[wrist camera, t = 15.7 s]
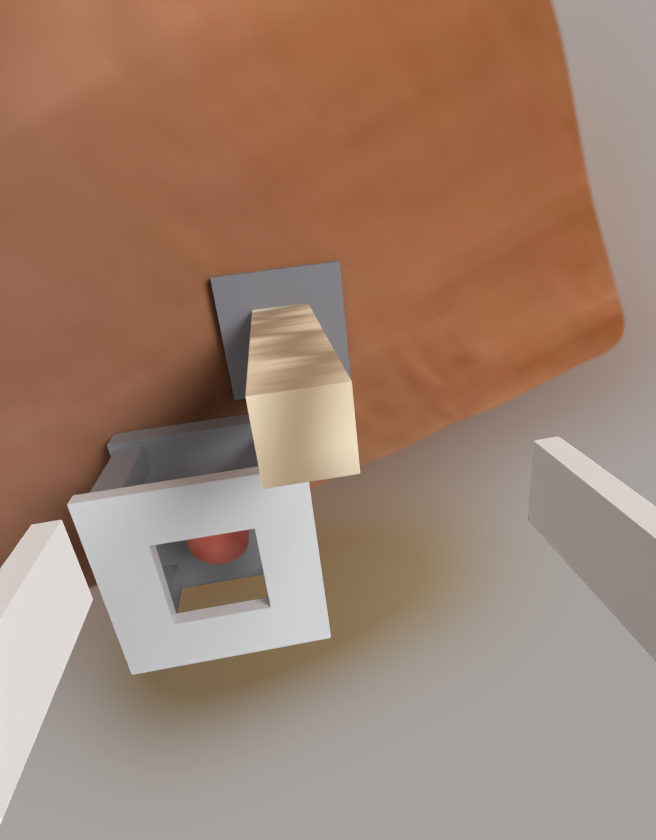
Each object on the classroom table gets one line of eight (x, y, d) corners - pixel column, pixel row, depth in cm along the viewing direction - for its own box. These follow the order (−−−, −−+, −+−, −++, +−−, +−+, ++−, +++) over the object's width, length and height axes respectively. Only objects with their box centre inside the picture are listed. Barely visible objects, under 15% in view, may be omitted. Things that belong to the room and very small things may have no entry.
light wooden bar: (261, 364, 36) (262, 489, 20) (252, 310, 34) (245, 396, 18) (314, 356, 36) (360, 473, 20) (307, 302, 35) (351, 381, 18)
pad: (234, 397, 37) (234, 400, 37) (211, 276, 34) (210, 277, 33) (349, 380, 38) (351, 383, 38) (338, 260, 35) (339, 261, 34)
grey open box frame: (158, 576, 43) (131, 674, 34) (114, 433, 37) (67, 504, 28) (316, 549, 44) (331, 637, 35) (295, 406, 38) (306, 466, 29)
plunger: (201, 526, 41) (193, 568, 36) (190, 480, 39) (180, 519, 34) (254, 517, 41) (253, 558, 36) (245, 472, 39) (242, 509, 34)
